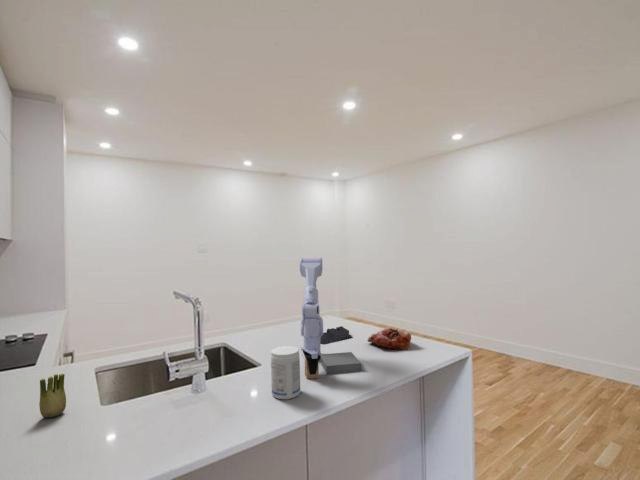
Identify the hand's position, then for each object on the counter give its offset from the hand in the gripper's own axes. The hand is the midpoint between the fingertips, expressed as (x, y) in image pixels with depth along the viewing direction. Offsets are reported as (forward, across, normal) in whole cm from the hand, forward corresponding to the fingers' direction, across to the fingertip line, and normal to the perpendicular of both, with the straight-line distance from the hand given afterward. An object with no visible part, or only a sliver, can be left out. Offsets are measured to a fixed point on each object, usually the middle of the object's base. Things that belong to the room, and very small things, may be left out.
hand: (311, 371), depth 128 cm
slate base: (+2, -8, +13) cm, 15 cm away
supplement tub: (+2, +13, -11) cm, 17 cm away
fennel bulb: (+2, +12, -80) cm, 81 cm away
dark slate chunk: (+2, -49, +19) cm, 53 cm away
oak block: (+2, 0, 0) cm, 2 cm away
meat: (+2, -30, +43) cm, 53 cm away
